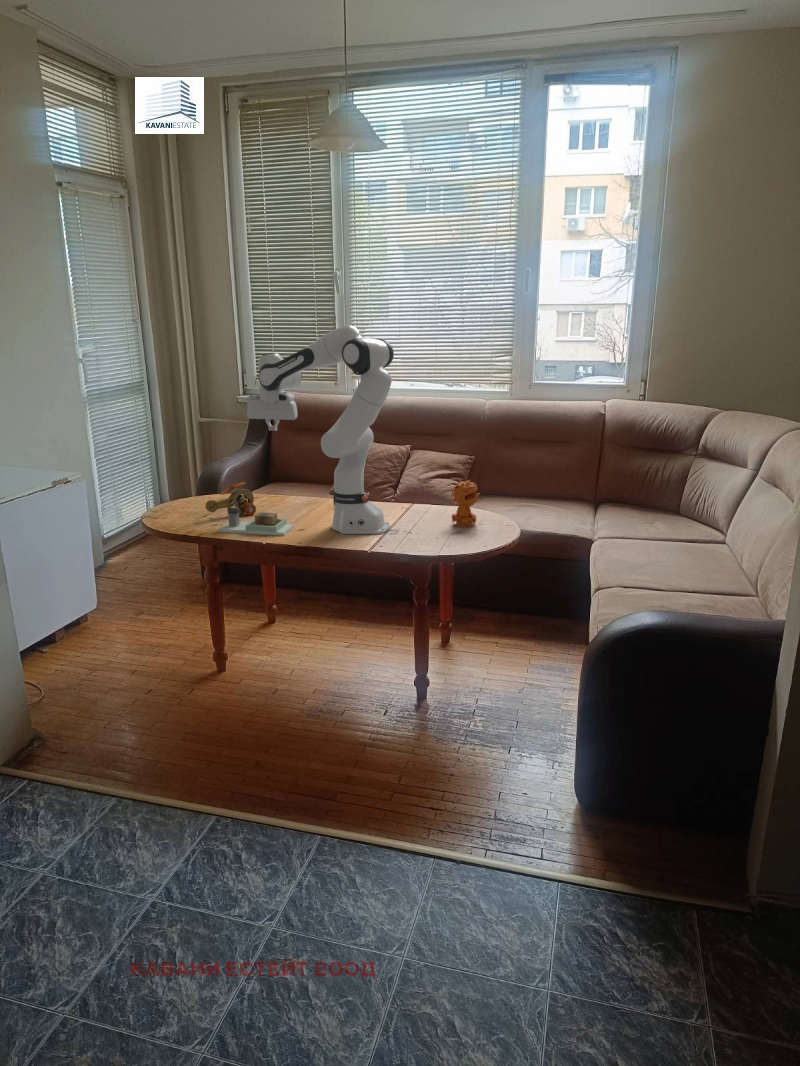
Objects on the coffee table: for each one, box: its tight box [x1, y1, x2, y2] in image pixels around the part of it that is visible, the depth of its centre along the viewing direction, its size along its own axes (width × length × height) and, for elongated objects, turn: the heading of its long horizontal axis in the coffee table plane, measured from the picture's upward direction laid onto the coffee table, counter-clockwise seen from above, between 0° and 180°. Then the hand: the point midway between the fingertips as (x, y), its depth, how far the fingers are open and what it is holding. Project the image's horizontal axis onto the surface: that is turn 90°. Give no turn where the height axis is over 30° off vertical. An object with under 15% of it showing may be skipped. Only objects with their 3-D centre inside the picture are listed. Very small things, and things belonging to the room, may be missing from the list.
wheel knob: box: [226, 506, 239, 514], centre depth 272 cm, size 4×4×5 cm
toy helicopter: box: [205, 481, 257, 517], centre depth 288 cm, size 8×21×14 cm, turn 131°
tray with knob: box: [218, 512, 295, 537], centre depth 271 cm, size 26×11×6 cm, turn 79°
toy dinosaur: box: [450, 479, 481, 527], centre depth 275 cm, size 11×11×18 cm
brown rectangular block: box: [254, 512, 278, 526], centre depth 270 cm, size 7×5×5 cm
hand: (273, 430), depth 286 cm, fingers closed
